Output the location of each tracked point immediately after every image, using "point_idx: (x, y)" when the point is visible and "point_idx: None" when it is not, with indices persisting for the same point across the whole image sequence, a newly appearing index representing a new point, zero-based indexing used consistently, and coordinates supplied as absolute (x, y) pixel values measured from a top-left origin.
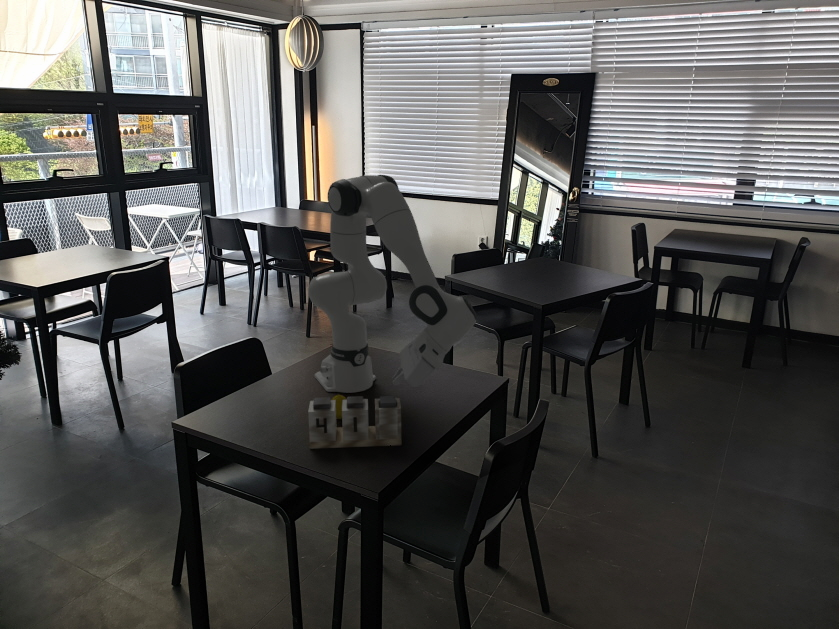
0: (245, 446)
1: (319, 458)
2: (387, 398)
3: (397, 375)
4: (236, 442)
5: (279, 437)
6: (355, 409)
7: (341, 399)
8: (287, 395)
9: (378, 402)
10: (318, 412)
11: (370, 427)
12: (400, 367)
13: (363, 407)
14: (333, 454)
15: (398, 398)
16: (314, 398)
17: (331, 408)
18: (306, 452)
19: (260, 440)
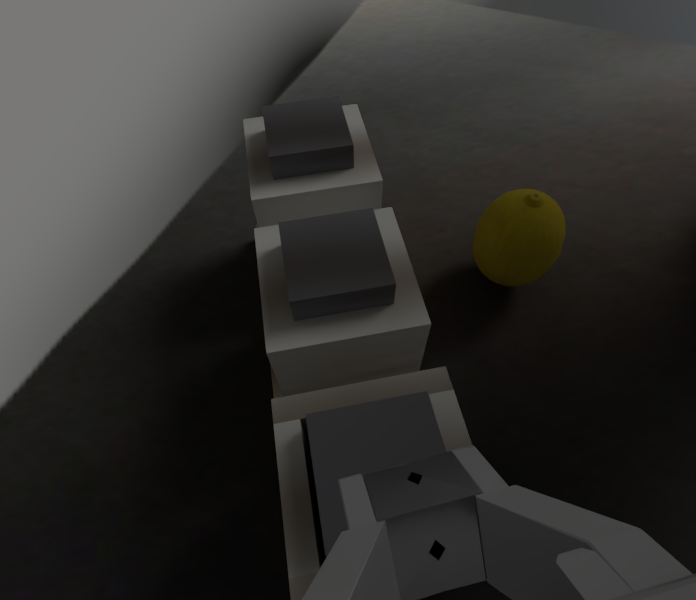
0: (272, 104)
1: (191, 278)
2: (403, 460)
3: (485, 528)
4: (293, 85)
5: None
6: (270, 286)
7: (514, 220)
8: (613, 104)
9: None
10: (246, 151)
11: None
12: (625, 569)
13: (300, 322)
14: (216, 314)
15: None
16: (331, 98)
17: (281, 184)
18: (234, 235)
19: None
